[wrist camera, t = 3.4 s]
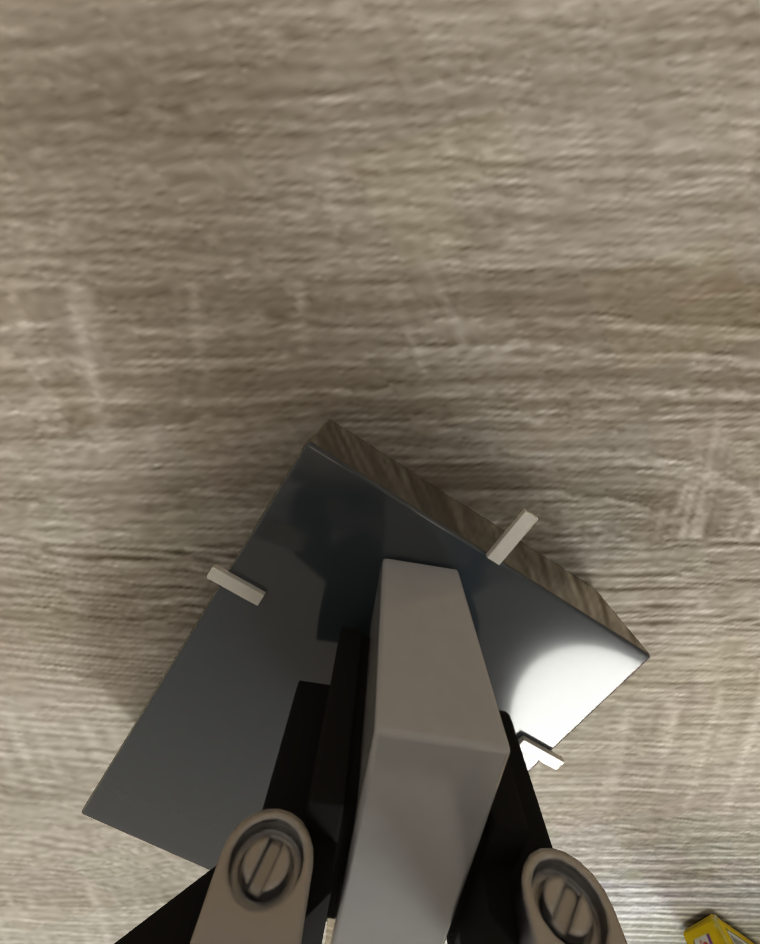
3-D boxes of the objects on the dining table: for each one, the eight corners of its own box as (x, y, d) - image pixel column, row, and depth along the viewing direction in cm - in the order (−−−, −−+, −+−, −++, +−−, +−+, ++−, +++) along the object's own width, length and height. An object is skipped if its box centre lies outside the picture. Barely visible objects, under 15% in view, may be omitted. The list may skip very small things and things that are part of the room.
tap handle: (383, 556, 9) (374, 748, 5) (459, 568, 9) (520, 770, 5) (345, 760, 11) (314, 1034, 7) (408, 770, 11) (419, 1048, 7)
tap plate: (342, 369, 11) (323, 378, 8) (633, 562, 13) (709, 630, 10) (129, 722, 15) (64, 815, 12) (369, 838, 17) (364, 946, 14)
